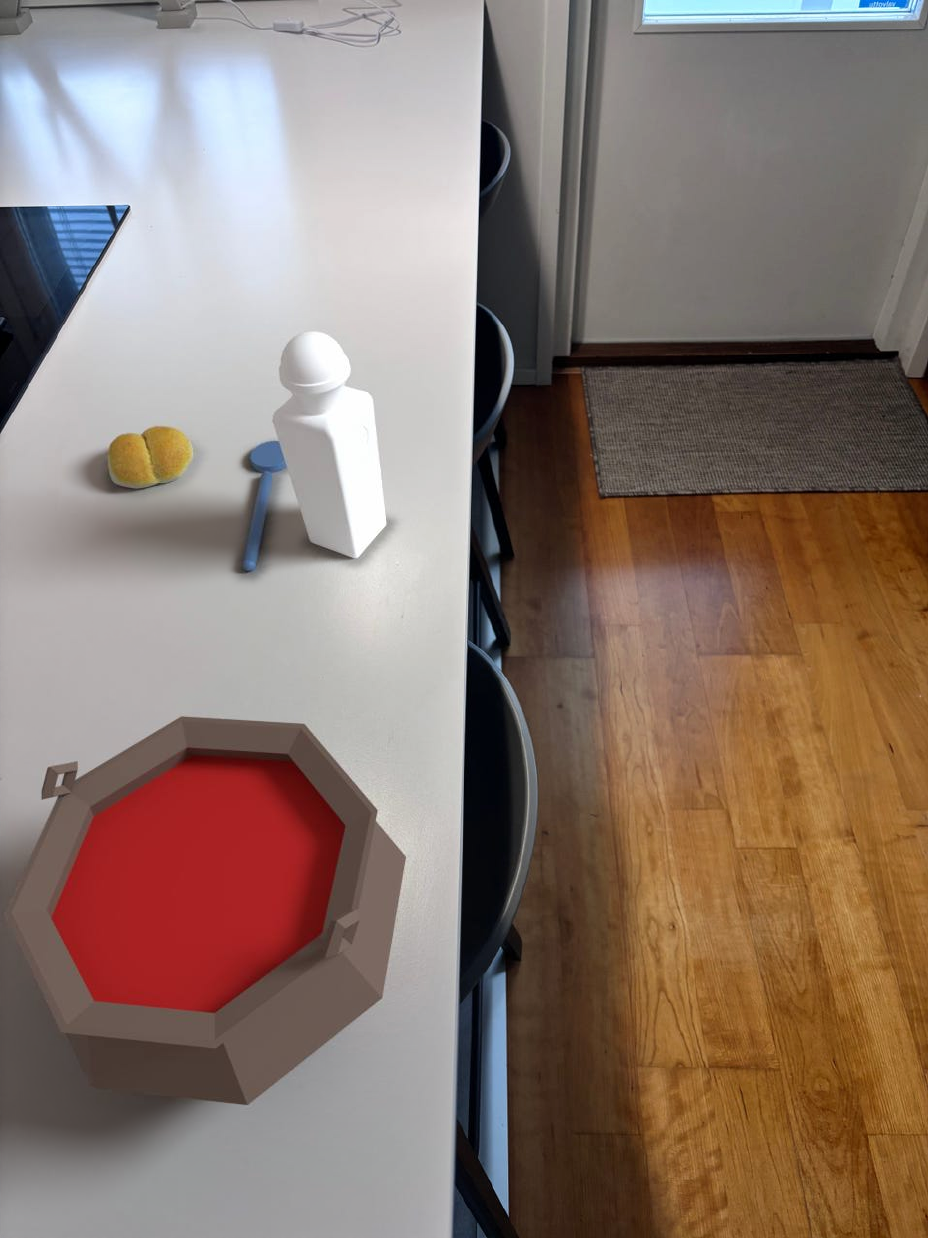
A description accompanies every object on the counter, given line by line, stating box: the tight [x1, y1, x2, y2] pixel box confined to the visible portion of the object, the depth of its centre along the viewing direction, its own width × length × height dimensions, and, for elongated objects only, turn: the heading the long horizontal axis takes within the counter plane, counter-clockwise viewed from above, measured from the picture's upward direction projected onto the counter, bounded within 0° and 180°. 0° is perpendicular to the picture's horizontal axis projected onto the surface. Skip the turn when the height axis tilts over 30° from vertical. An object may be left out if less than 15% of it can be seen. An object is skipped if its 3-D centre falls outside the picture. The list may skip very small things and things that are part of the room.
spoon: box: [242, 440, 287, 572], centre depth 97 cm, size 19×4×1 cm, turn 1°
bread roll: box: [106, 425, 195, 489], centre depth 101 cm, size 8×9×4 cm
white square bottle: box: [272, 330, 387, 559], centre depth 85 cm, size 6×6×22 cm
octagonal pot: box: [4, 716, 407, 1106], centre depth 60 cm, size 24×24×16 cm
